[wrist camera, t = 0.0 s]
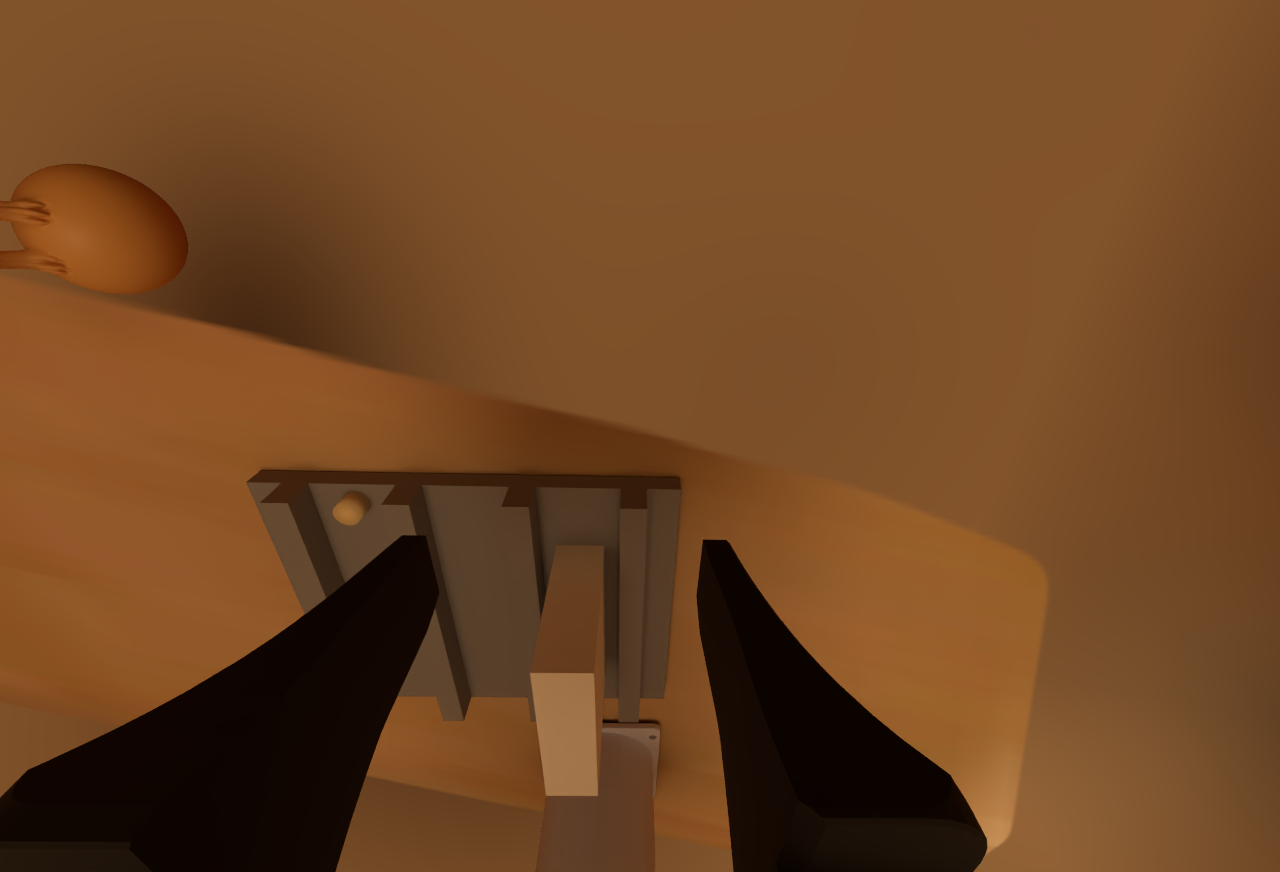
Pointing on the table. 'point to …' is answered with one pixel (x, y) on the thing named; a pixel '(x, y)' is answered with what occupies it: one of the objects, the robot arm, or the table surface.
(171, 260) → the figurine
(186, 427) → the table surface
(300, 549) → the ridged panel
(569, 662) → the picture frame
